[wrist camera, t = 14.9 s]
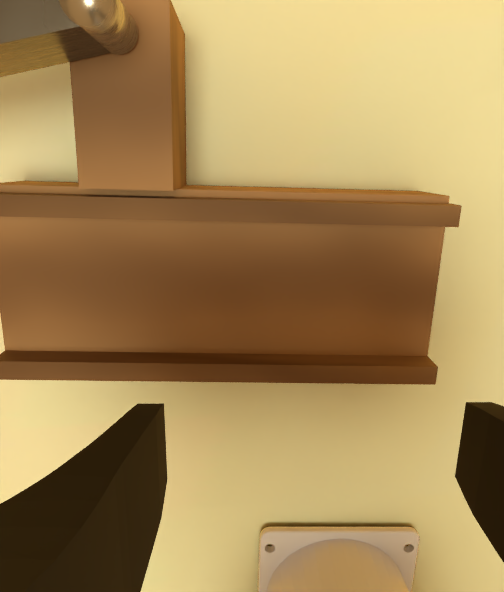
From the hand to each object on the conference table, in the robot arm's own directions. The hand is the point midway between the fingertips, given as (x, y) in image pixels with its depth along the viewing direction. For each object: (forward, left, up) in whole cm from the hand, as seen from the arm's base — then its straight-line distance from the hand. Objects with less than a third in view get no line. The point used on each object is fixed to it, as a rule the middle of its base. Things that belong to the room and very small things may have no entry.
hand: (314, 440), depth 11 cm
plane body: (+5, +2, -10) cm, 11 cm away
